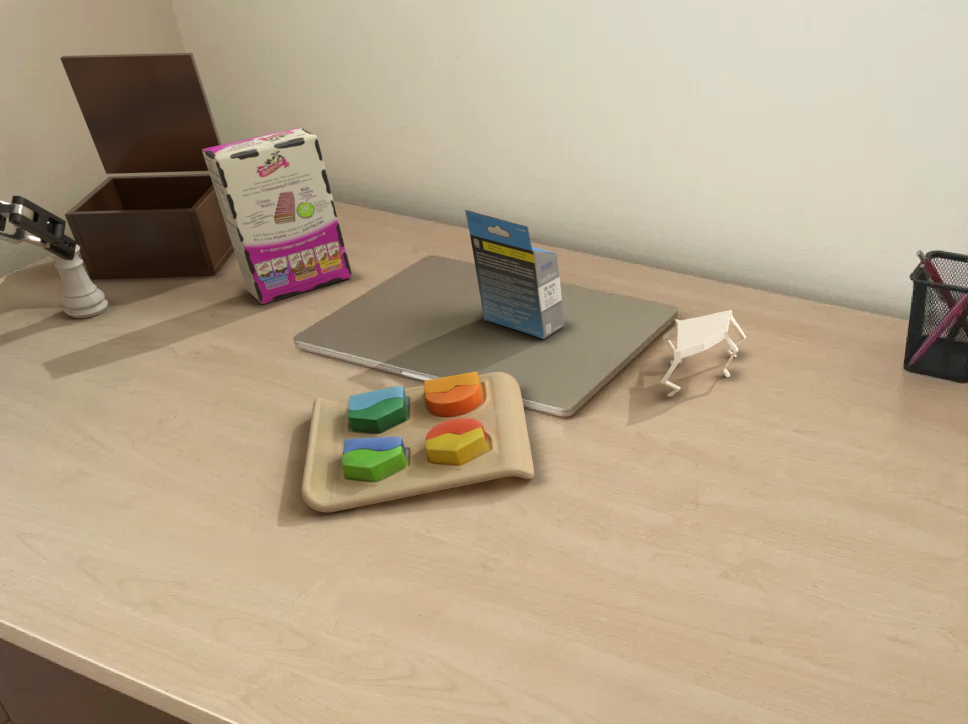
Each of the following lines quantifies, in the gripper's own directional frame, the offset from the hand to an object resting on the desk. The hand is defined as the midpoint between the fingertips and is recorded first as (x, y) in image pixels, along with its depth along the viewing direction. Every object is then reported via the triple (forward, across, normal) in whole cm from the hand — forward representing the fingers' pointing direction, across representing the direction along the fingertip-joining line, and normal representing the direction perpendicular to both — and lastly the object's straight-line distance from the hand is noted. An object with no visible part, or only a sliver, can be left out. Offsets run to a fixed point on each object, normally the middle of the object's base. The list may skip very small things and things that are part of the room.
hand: (33, 249), depth 109 cm
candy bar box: (+15, -21, -3) cm, 26 cm away
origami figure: (+4, -70, +9) cm, 70 cm away
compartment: (+20, -1, -8) cm, 21 cm away
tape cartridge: (+10, -50, +2) cm, 51 cm away
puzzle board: (-7, -47, +20) cm, 51 cm away
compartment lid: (+13, 0, -22) cm, 26 cm away
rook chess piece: (+9, 0, +4) cm, 10 cm away
